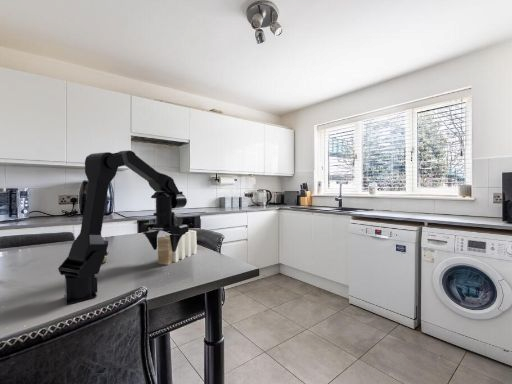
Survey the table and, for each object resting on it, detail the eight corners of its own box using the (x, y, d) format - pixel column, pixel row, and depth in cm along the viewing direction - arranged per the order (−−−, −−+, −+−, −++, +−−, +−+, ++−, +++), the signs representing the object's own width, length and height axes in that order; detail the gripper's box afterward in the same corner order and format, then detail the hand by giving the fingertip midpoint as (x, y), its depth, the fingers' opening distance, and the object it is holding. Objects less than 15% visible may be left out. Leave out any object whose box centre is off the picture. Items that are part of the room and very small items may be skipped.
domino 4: (188, 256, 106) (188, 233, 106) (179, 255, 108) (178, 232, 108) (191, 255, 108) (190, 232, 107) (181, 254, 109) (181, 231, 109)
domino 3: (182, 259, 102) (182, 234, 102) (172, 258, 104) (172, 233, 104) (185, 258, 104) (184, 234, 104) (175, 257, 106) (174, 233, 106)
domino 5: (194, 254, 110) (194, 231, 110) (185, 253, 112) (184, 230, 111) (196, 253, 111) (196, 230, 111) (187, 252, 113) (187, 230, 113)
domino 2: (175, 262, 99) (175, 236, 98) (165, 260, 101) (165, 235, 100) (178, 260, 100) (178, 235, 100) (168, 259, 102) (168, 235, 102)
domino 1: (168, 265, 95) (168, 238, 95) (158, 263, 97) (157, 237, 97) (171, 263, 97) (171, 237, 96) (161, 262, 98) (160, 236, 98)
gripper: (197, 208, 100) (197, 247, 100) (160, 207, 107) (160, 244, 108) (178, 211, 90) (178, 255, 90) (139, 209, 97) (139, 250, 97)
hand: (164, 250), depth 97 cm, fingers open, 9 cm apart
